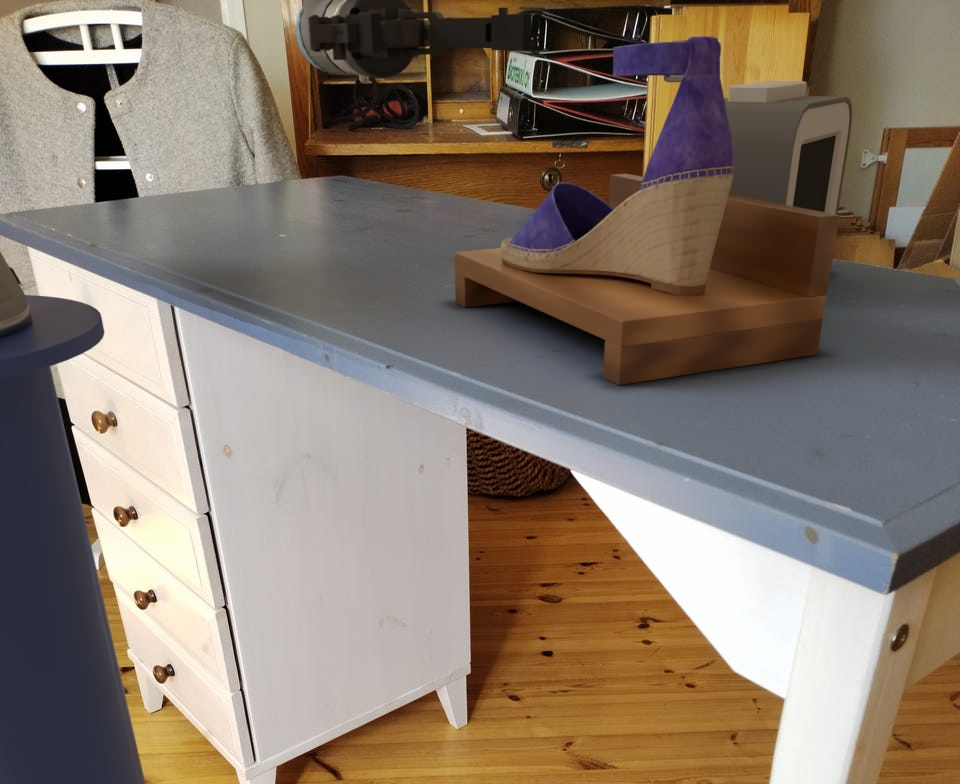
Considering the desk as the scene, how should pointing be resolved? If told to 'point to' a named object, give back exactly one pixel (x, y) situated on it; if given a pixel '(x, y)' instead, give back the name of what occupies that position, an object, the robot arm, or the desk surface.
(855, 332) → the desk surface
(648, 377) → the shoe rack
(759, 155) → the alarm clock
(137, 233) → the desk surface
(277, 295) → the desk surface
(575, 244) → the sandal
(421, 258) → the desk surface
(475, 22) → the robot arm
